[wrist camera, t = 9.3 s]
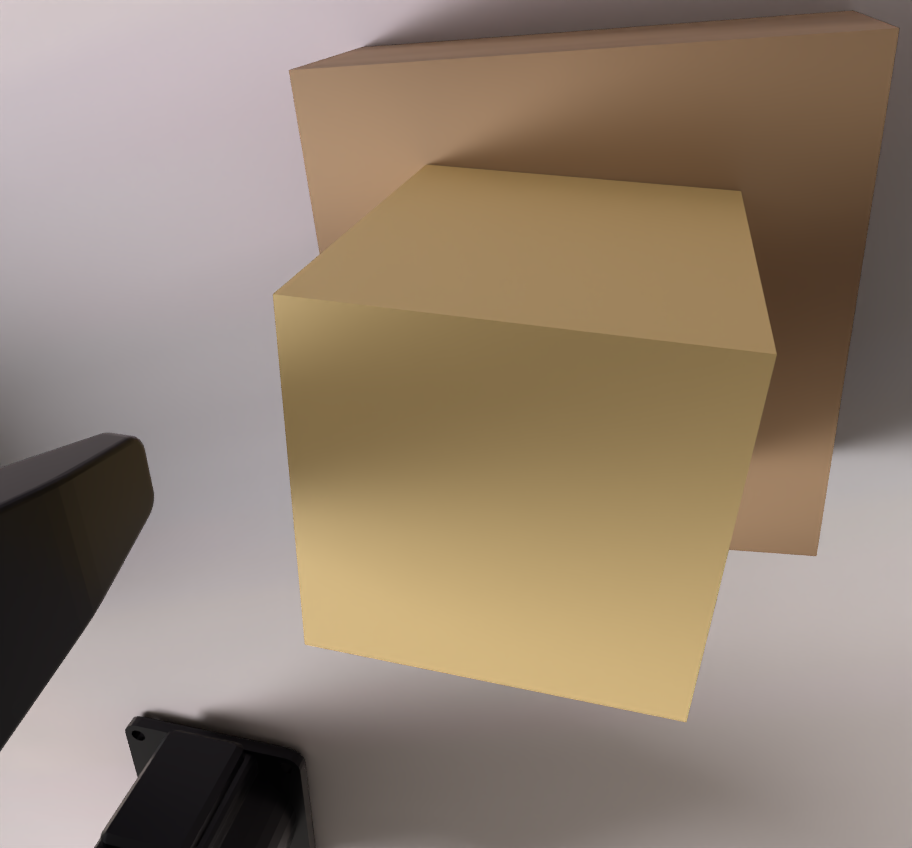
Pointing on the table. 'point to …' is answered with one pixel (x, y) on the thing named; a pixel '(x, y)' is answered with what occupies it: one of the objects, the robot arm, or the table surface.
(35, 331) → the table surface
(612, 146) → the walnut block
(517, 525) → the ochre block
